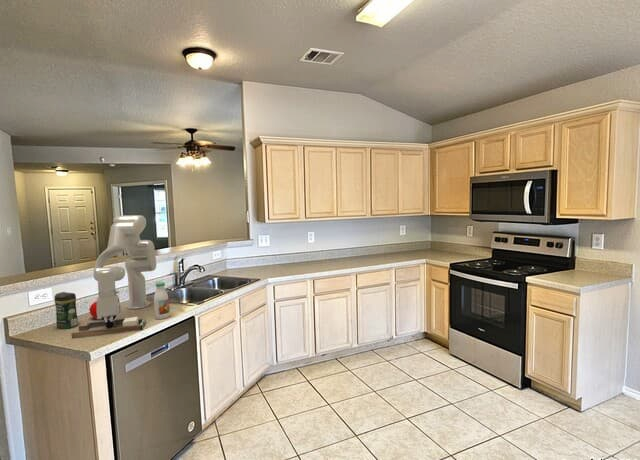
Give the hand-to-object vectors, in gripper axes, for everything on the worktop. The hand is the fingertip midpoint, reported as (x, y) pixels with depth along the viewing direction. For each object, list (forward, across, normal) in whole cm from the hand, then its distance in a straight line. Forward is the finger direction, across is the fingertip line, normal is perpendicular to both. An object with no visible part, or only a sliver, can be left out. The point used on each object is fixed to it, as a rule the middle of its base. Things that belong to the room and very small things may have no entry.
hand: (109, 328), depth 179 cm
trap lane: (+1, 0, -2) cm, 2 cm away
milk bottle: (+1, -24, -12) cm, 26 cm away
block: (+1, -10, +1) cm, 10 cm away
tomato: (+1, +9, -26) cm, 27 cm away
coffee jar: (+1, +23, -16) cm, 28 cm away
